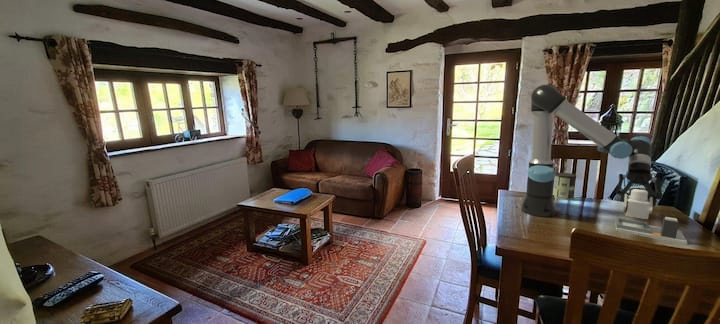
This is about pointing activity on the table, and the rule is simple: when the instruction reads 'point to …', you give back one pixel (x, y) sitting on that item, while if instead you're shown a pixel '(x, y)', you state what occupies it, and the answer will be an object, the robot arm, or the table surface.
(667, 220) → the breaker toggle
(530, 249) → the table surface
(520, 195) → the table surface
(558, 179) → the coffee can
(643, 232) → the breaker panel
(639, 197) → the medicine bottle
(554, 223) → the table surface
